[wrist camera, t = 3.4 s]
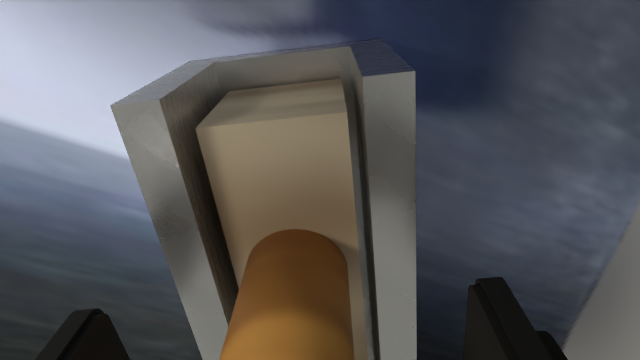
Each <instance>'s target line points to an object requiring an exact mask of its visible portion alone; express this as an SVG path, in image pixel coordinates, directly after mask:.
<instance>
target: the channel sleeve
mask: <svg viewBox="0 0 640 360" xmlns="http://www.w3.org/2000/svg"><path fill="white" fill-rule="evenodd" d="M334 79H342V85H343V91H344V97H345V103H346V109H347V118H348V130H349V141H350V153H351V165H352V176H353V188H354V199H355V211H356V223H357V234H358V246H359V258H360V269H361V281H362V292H363V304H364V316H365V327H366V339H367V351H368V360H417V322H416V100H415V70H414V69H413V68H412V67H411V66H410V65H409V64H408V63H407V62H405V61H404V60H403V59H402V58H401V57H400V56H399V55H398V54H397V53H396V52H395V51H394V50H393V49H392V48H391V47H390V46H389V45H388V44H387V43H386V42H384V41H383V40H382V39H373V40H365V41H356V42H348V43H339V44H331V45H322V46H314V47H306V48H297V49H289V50H280V51H272V52H263V53H255V54H247V55H238V56H230V57H221V58H213V59H205V60H196V61H189V62H187V63H186V64H184V65H182V66H180V67H178V68H177V69H175V70H173V71H171V72H169V73H168V74H166V75H164V76H162V77H160V78H159V79H157V80H155V81H153V82H151V83H150V84H148V85H146V86H144V87H142V88H141V89H139V90H137V91H135V92H133V93H132V94H130V95H128V96H126V97H124V98H123V99H121V100H119V101H117V102H115V103H114V104H112V105H110V106H111V109H112V112H113V114H114V117H115V120H116V123H117V125H118V128H119V131H120V133H121V136H122V139H123V142H124V144H125V147H126V150H127V153H128V155H129V158H130V161H131V164H132V166H133V169H134V172H135V175H136V177H137V180H138V183H139V186H140V188H141V191H142V194H143V197H144V199H145V202H146V205H147V208H148V210H149V213H150V216H151V219H152V221H153V224H154V227H155V229H156V232H157V235H158V238H159V240H160V243H161V246H162V249H163V251H164V254H165V257H166V260H167V262H168V265H169V268H170V271H171V273H172V276H173V279H174V282H175V284H176V287H177V290H178V293H179V295H180V298H181V301H182V304H183V306H184V309H185V312H186V315H187V317H188V320H189V323H190V325H191V328H192V331H193V334H194V336H195V339H196V342H197V345H198V347H199V350H200V353H201V356H202V358H203V360H219V359H220V355H221V352H222V348H223V344H224V341H225V337H226V334H227V330H228V327H229V323H230V320H231V316H232V313H233V309H234V306H235V302H236V299H237V295H238V292H239V287H238V284H237V280H236V276H235V273H234V269H233V265H232V262H231V258H230V254H229V251H228V247H227V243H226V240H225V236H224V232H223V229H222V225H221V221H220V218H219V214H218V210H217V206H216V203H215V199H214V195H213V192H212V188H211V184H210V181H209V177H208V173H207V170H206V166H205V162H204V159H203V155H202V151H201V148H200V144H199V140H198V137H197V133H196V129H195V128H196V127H197V126H198V125H199V124H200V123H201V122H202V121H203V119H204V118H205V117H206V116H207V115H208V114H209V113H210V112H211V111H212V110H213V109H214V107H215V106H216V105H217V104H218V103H219V102H220V101H221V100H222V99H223V98H224V96H225V95H226V94H227V93H228V92H229V91H236V90H245V89H254V88H263V87H272V86H281V85H290V84H298V83H307V82H316V81H325V80H334Z"/></svg>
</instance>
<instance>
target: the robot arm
mask: <svg viewBox="0 0 640 360" xmlns="http://www.w3.org/2000/svg"><path fill="white" fill-rule="evenodd" d="M35 360H130V359H129V356H128V354H127V352H126V350H125V348H124V346H123V344H122V342H121V340H120V338H119V336H118V334H117V332H116V330H115V328H114V326H113V324H112V322H111V320H110V317H109V316H108V315H107V314H104V313H103V311H102V310H100V309H85V310H76V311H74V312H72V313H71V314H70V315H69V316H68V318H67V319H66V320H65V322H64V323H63V324H62V325H61V327H60V328H59V329H58V331H57V332H56V333H55V334H54V336H53V337H52V338H51V340H50V341H49V342H48V343H47V345H46V346H45V347H44V349H43V350H42V351H41V352H40V354H39V355H38V356H37V358H36V359H35ZM463 360H568V359H567V358H566V356H565V355H564V353H563V352H562V350H561V349H560V347H559V346H558V344H557V342H556V341H555V340H554V338H553V337H552V336H551V335H550V334H549V333H548V332H546V331H535V330H534V328H533V326H532V325H531V323H530V321H529V320H528V318H527V317H526V315H525V313H524V312H523V310H522V308H521V307H520V305H519V303H518V302H517V300H516V298H515V297H514V295H513V293H512V292H511V290H510V288H509V287H508V285H507V284H506V282H505V280H504V279H503V278H502V277H494V278H481V279H477V280H476V283H475V285H470V286H469V288H468V301H467V314H466V328H465V341H464V355H463Z"/></svg>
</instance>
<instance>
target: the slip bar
mask: <svg viewBox="0 0 640 360" xmlns="http://www.w3.org/2000/svg"><path fill="white" fill-rule="evenodd" d="M195 129H196V133H197V137H198V140H199V144H200V148H201V151H202V155H203V159H204V162H205V166H206V170H207V173H208V177H209V181H210V184H211V188H212V192H213V195H214V199H215V203H216V206H217V210H218V214H219V218H220V221H221V225H222V229H223V232H224V236H225V240H226V243H227V247H228V251H229V254H230V258H231V262H232V265H233V269H234V273H235V276H236V280H237V284H238V287H239V292H238V295H237V299H236V302H235V306H234V309H233V313H232V316H231V320H230V323H229V327H228V330H227V334H226V337H225V341H224V344H223V348H222V352H221V355H220V359H219V360H368V351H367V339H366V327H365V316H364V304H363V292H362V281H361V269H360V258H359V246H358V234H357V223H356V211H355V199H354V188H353V176H352V165H351V153H350V141H349V130H348V118H347V109H346V103H345V97H344V91H343V85H342V79H334V80H325V81H316V82H307V83H298V84H290V85H281V86H272V87H263V88H254V89H245V90H236V91H229V92H228V93H227V94H226V95H225V96H224V98H223V99H222V100H221V101H220V102H219V103H218V104H217V105H216V106H215V107H214V109H213V110H212V111H211V112H210V113H209V114H208V115H207V116H206V117H205V118H204V119H203V121H202V122H201V123H200V124H199V125H198V126H197V127H196V128H195Z"/></svg>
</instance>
